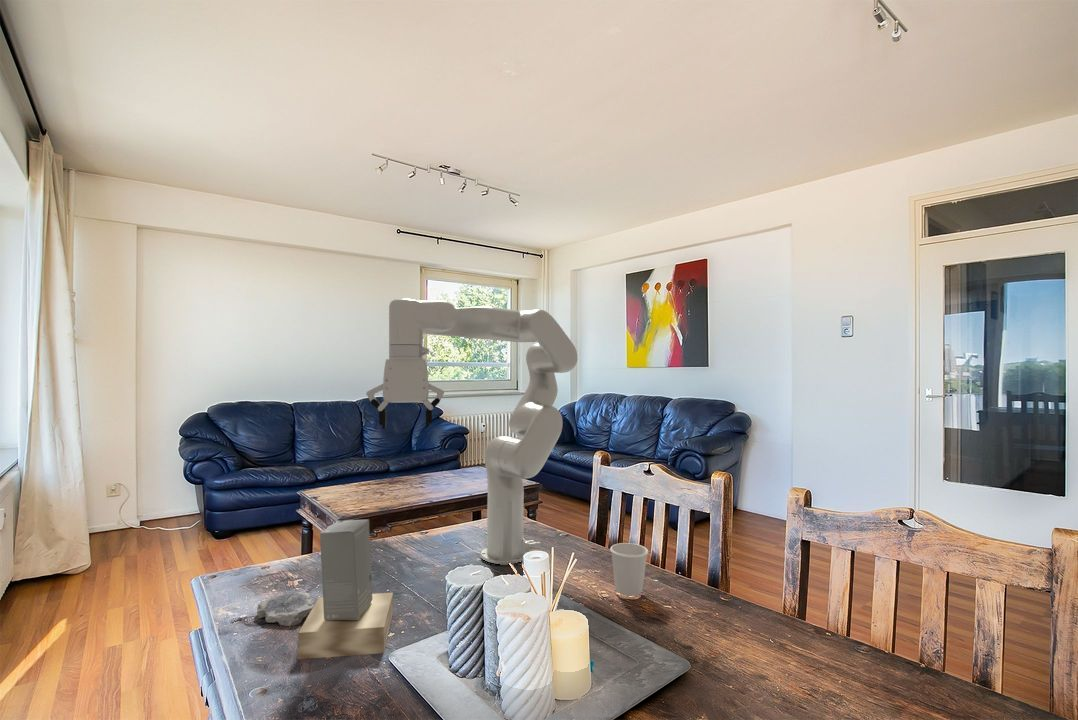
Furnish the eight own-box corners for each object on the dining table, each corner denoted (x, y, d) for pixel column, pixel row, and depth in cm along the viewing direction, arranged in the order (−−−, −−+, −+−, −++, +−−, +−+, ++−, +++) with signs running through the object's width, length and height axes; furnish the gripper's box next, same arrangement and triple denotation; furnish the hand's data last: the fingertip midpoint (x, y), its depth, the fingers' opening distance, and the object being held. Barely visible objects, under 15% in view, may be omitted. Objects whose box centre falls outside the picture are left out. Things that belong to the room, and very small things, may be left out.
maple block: (392, 617, 104) (392, 592, 104) (383, 656, 90) (384, 627, 90) (318, 622, 102) (319, 596, 102) (297, 662, 88) (298, 632, 88)
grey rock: (244, 605, 101) (287, 577, 110) (246, 624, 102) (289, 594, 111) (286, 623, 97) (327, 592, 106) (288, 642, 98) (329, 609, 107)
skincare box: (358, 621, 92) (357, 532, 92) (318, 621, 92) (317, 532, 92) (374, 599, 100) (373, 517, 100) (337, 599, 100) (336, 517, 100)
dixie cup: (632, 584, 121) (633, 540, 121) (655, 598, 113) (656, 552, 113) (602, 590, 117) (602, 545, 117) (623, 605, 110) (624, 558, 110)
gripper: (443, 353, 125) (443, 424, 125) (368, 353, 122) (368, 426, 121) (444, 353, 118) (444, 428, 118) (364, 352, 114) (364, 430, 114)
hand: (405, 427), depth 120 cm, fingers open, 9 cm apart
